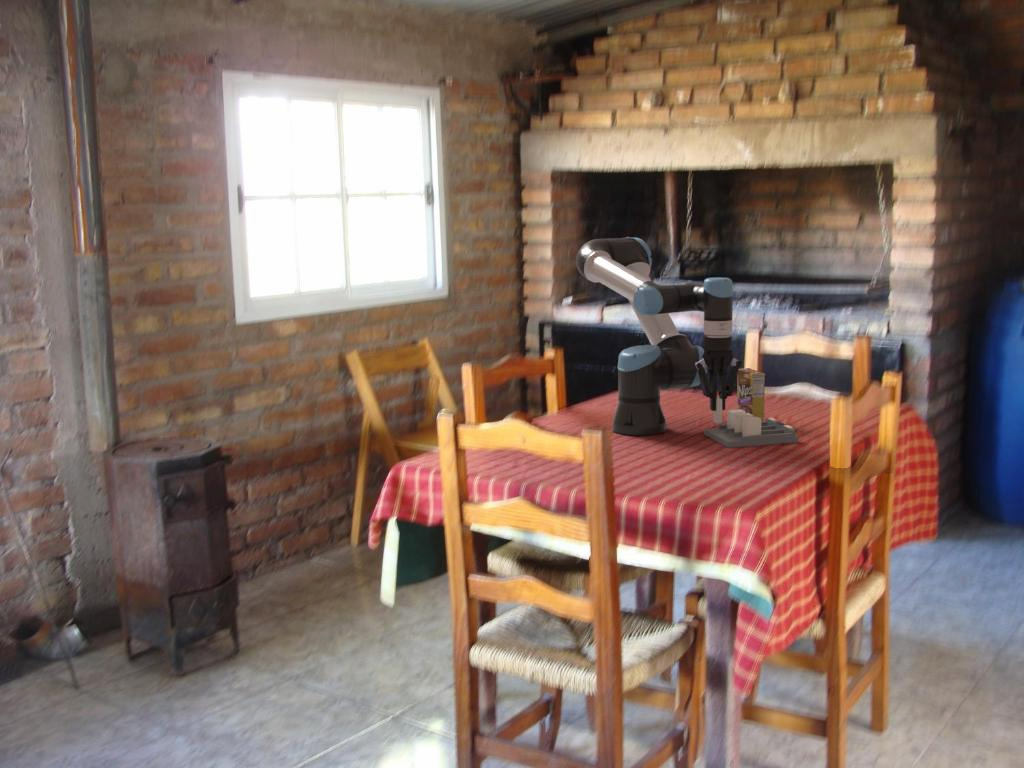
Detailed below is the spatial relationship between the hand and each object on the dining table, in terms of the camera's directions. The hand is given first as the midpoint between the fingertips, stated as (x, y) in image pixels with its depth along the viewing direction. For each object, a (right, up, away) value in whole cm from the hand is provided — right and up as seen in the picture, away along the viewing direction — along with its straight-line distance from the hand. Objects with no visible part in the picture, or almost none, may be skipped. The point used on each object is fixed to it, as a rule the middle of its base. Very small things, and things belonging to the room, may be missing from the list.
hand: (717, 422), depth 298 cm
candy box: (+12, -1, +17) cm, 21 cm away
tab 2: (+6, -3, -3) cm, 8 cm away
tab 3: (+8, -4, -8) cm, 11 cm away
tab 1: (+5, -2, +2) cm, 6 cm away
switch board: (+8, -4, -2) cm, 10 cm away
